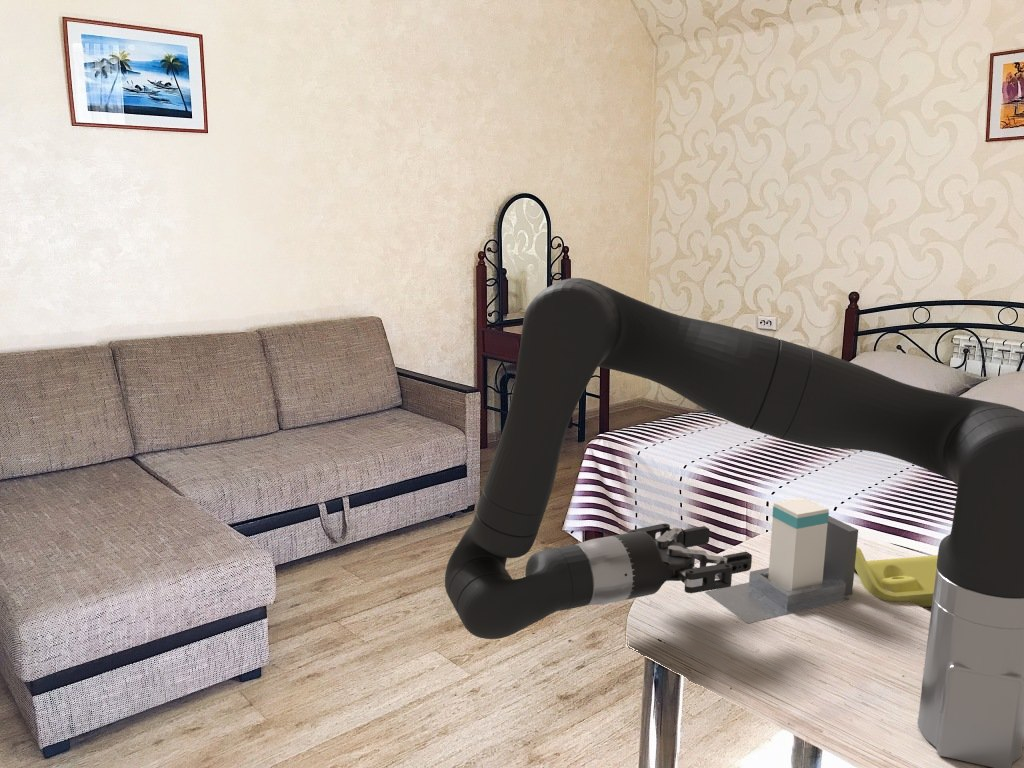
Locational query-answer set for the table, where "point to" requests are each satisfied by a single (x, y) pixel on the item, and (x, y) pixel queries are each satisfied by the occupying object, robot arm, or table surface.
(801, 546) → the block
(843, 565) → the end stop
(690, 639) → the table surface
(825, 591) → the rail plate
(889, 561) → the plastic component
